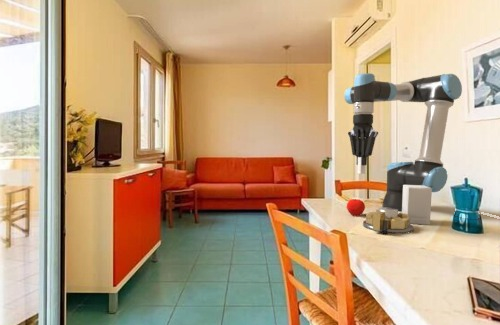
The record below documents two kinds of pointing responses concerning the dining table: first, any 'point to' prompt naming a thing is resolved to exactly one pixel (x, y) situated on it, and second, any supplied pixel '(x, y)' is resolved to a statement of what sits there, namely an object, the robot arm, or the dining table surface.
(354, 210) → the apple
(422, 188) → the supplement box
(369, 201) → the dining table surface
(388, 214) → the hub base
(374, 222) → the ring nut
